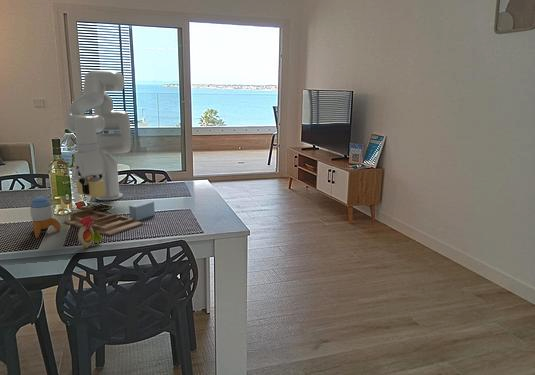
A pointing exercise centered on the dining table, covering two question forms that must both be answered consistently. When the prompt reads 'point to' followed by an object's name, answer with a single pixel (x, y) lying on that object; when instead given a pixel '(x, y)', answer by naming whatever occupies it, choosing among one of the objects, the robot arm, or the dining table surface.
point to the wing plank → (142, 210)
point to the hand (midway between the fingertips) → (91, 192)
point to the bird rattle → (87, 233)
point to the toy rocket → (42, 215)
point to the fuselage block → (93, 187)
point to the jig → (104, 221)
